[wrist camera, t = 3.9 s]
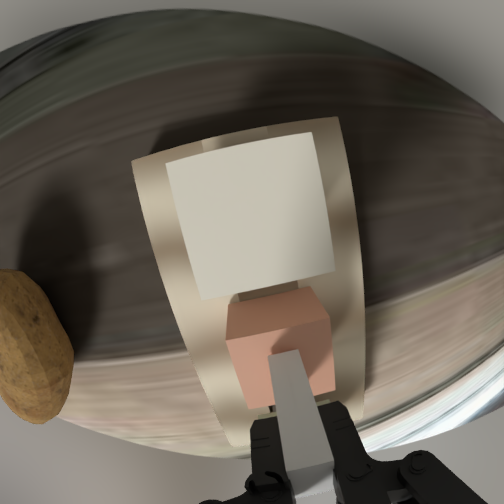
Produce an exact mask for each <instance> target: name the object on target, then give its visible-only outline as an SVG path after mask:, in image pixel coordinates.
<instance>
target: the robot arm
mask: <svg viewBox="0 0 504 504" xmlns="http://www.w3.org/2000/svg"><path fill="white" fill-rule="evenodd" d="M268 362H269V368H270V375H271V381H272V387H273V393H274V400H275V406H276V412H277V416H275V417H269V418H264V419H258V420H254V422H253V424H252V426H251V428H250V441H251V442H250V444H251V461H252V474H251V475H250V476H249V477H248V478H247V480H246V482H245V488H246V490H247V491H246V492H245V493H244V494H242V495H240V496H238V497H235V498H233V499H230V500H227V501H223V502H221V501H218V500H206V501H203V502H201V503H199V504H296V498H301V497H305V496H310V495H315V494H319V493H323V492H327V491H330V490H335V493H336V496H337V498H336V504H391V503H392V504H488V503H486V502H485V501H484V500H483V499H482V498H481V497H480V496H478V495H477V494H476V493H475V492H474V491H473V490H472V489H471V488H469V487H468V486H467V485H466V484H465V483H464V482H463V481H462V480H461V479H459V478H458V477H457V476H456V475H455V474H454V473H453V472H451V470H449V469H448V468H447V467H446V466H445V465H444V464H443V463H442V462H441V461H440V460H438V459H437V458H436V457H435V456H434V455H433V454H432V453H430V452H428V451H424V450H419V451H414V452H412V453H410V454H408V455H407V456H406V457H405V458H404V459H402V460H395V461H383V462H382V461H377V460H374V459H372V458H371V457H370V456H369V455H368V454H367V453H366V451H365V449H364V446H363V444H362V442H361V439H360V437H359V435H358V432H357V430H356V428H355V426H354V423H353V421H352V418H351V416H350V414H349V411H348V409H347V407H346V406H345V405H343V404H342V403H341V402H340V401H334V402H331V403H327V404H324V405H320V406H317V405H316V402H315V399H314V396H313V393H312V390H311V387H310V384H309V380H308V377H307V374H306V371H305V368H304V365H303V362H302V359H301V356H300V353H299V350H298V349H296V350H291V351H287V352H283V353H278V354H274V355H269V356H268Z"/></svg>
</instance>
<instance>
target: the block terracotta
mask: <svg viewBox="0 0 504 504" xmlns="http://www.w3.org/2000/svg"><path fill="white" fill-rule="evenodd" d="M225 341H226V344H227V347H228V350H229V353H230V356H231V360H232V363H233V366H234V369H235V372H236V375H237V378H238V380H239V383H240V386H241V389H242V392H243V395H244V398H245V401H246V403H247V406H248V409H254V408H260V407H266V406H271V405H275V400H274V393H273V387H272V381H271V375H270V368H269V362H268V356H269V355H274V354H278V353H283V352H287V351H291V350H296V349H298V350H299V353H300V356H301V359H302V362H303V365H304V368H305V371H306V374H307V377H308V380H309V384H310V387H311V390H312V393H313V396H315V395H319V394H323V393H327V392H330V391H334V390H335V373H334V359H333V346H332V334H331V324H330V317H329V315H328V313H327V312H326V310H325V309H324V307H323V305H322V304H321V302H320V301H319V299H318V297H317V296H316V294H315V293H314V291H313V290H312V288H311V286H309V287H304V288H300V289H296V290H292V291H287V292H283V293H278V294H274V295H269V296H265V297H260V298H256V299H251V300H246V301H241V302H237V303H232V304H228V312H227V325H226V339H225Z"/></svg>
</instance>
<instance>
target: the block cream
mask: <svg viewBox="0 0 504 504" xmlns="http://www.w3.org/2000/svg"><path fill="white" fill-rule="evenodd" d="M165 164H166V169H167V173H168V177H169V182H170V186H171V190H172V195H173V199H174V203H175V207H176V211H177V215H178V219H179V223H180V227H181V230H182V234H183V238H184V242H185V245H186V249H187V253H188V256H189V260H190V263H191V267H192V270H193V274H194V277H195V281H196V284H197V287H198V291H199V294H200V297H201V301H202V300H207V299H212V298H217V297H222V296H226V295H231V294H236V293H241V292H246V291H250V290H255V289H260V288H264V287H269V286H273V285H278V284H282V283H286V282H291V281H295V280H299V279H304V278H308V277H312V276H316V275H321V274H325V273H329V272H333V271H336V270H335V262H334V254H333V247H332V240H331V233H330V226H329V220H328V213H327V207H326V201H325V196H324V190H323V185H322V179H321V174H320V169H319V164H318V159H317V154H316V150H315V145H314V141H313V136H312V132H308V133H301V134H294V135H288V136H282V137H276V138H270V139H265V140H260V141H255V142H250V143H245V144H240V145H235V146H231V147H226V148H222V149H218V150H213V151H209V152H205V153H201V154H197V155H194V156H190V157H186V158H182V159H179V160H175V161H172V162H168V163H165Z"/></svg>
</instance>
